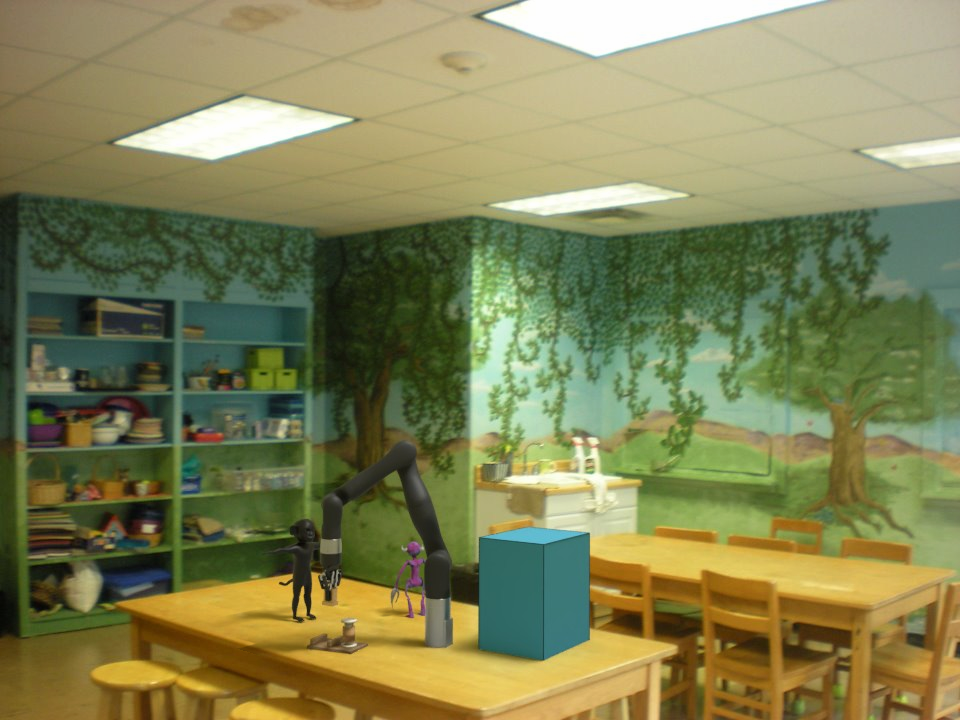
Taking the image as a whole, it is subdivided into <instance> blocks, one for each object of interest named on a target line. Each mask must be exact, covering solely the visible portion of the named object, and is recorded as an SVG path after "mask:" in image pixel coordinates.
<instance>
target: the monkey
mask: <svg viewBox="0 0 960 720" xmlns="http://www.w3.org/2000/svg"><path fill="white" fill-rule="evenodd" d="M315 530H316V525H315V523H314V522H313V520H311V519H309V518H303V519H302V518H301V519H299V520H297V521H295V522H294V523H293V524H292V525H290V526H289V535H290V536H293V537H294V539H295V540H297V542H294V543H291V544H288V545H287V546H285V547H279V548H276V549H274V550H269V551H268V550H267V551H265V552H262V553H261V556H265V555H277V554H280V553H286V554H287V555H291V554H292V555H291V556H292V559H293V569H292V578H291V579H289V580H288V581H287V582H283V581H279V582H278V585H280V586H283V587H287V586H288V585H290V584H292V601H291V610H292V620H295V621H298V622H301V623H304V622H305V619H304V618H303V617H300V616H297V613H298V607H299V603H300V596H301V593H302V592H301V591H302V588H303V600H304V605H305V609H306V617H308V618H310V619H311V620H317V617H316V616H315V615H314V614H312V613H311V610H312V593H313V591H312V590H313V579H312V578H313V576H312V570H311V563H312V559H313V557H314V551H316V550H320V545H321V541H314V539H315V536H316V535H315Z"/></svg>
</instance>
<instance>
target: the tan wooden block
mask: <svg viewBox="0 0 960 720" xmlns="http://www.w3.org/2000/svg"><path fill="white" fill-rule="evenodd" d="M321 605H322V606H327V607H335V606H337V605H339V600H338V587H337V588H335V587H332V590H331V601H325V590H324V589H323V599H322V601H321Z"/></svg>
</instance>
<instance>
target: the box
mask: <svg viewBox="0 0 960 720" xmlns="http://www.w3.org/2000/svg"><path fill="white" fill-rule="evenodd" d="M590 562H591V533H590V532H588V531H587V532H586V531H576V530H575V531H574V530H566V529H558V528H557V529H556V528H545V527H534V526H524V527H520V528H516V529H511V530H506V531H502V532H496V533H492V534H488V535H483V536H478V598H477V599H478V605H477V606H478V611H477V612H478V615H477V616H478V617H477V618H478V620H477V621H478V626H477V627H478V628H477V629H478V631H477V633H478V636H477V638H478V639H477V640H478V644H477V649H478V650H480V651H481V650H482V651H487V652H492V653H499V654H502V655H504V654H505V655H509V656H515V657H521V658H525V659H526V658H527V659H531V660H537V661H542V662H543V661H546V660H548V659H550V658H553V657H554V656H557V655H559V654H561V653H564V652H567V651H568V650H570V649H573V648H575V647H577V646H579V645H581V644H584V643H586V642H588V641H591V638H590V636H591V629H590V628H591V619H590V616H591V611H590V610H591V607H590V606H591V563H590Z"/></svg>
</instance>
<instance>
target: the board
mask: <svg viewBox="0 0 960 720" xmlns="http://www.w3.org/2000/svg"><path fill="white" fill-rule="evenodd" d="M340 622H341V623H342V624H344V625H343V626H342V635H339V636H336V637H334V638H329V637H328V633H321V634H319V635H317V636H314V637H311V638H310V641H309V642H310V643H309V644H308V645H306V649H307V650H315V651H324V652H331V653H338V654H339V653H340V654H345V655H346V654H347V655H352V654H354V653H356V652H358V650H359V651H361V650H363V649H365V648H366V647H369V643H368V642H363V641H361V642H360V641H356V626H355V623H357V622H358V619H357V618H356V617H355V618H354V617H345V618H341V620H340Z"/></svg>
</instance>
